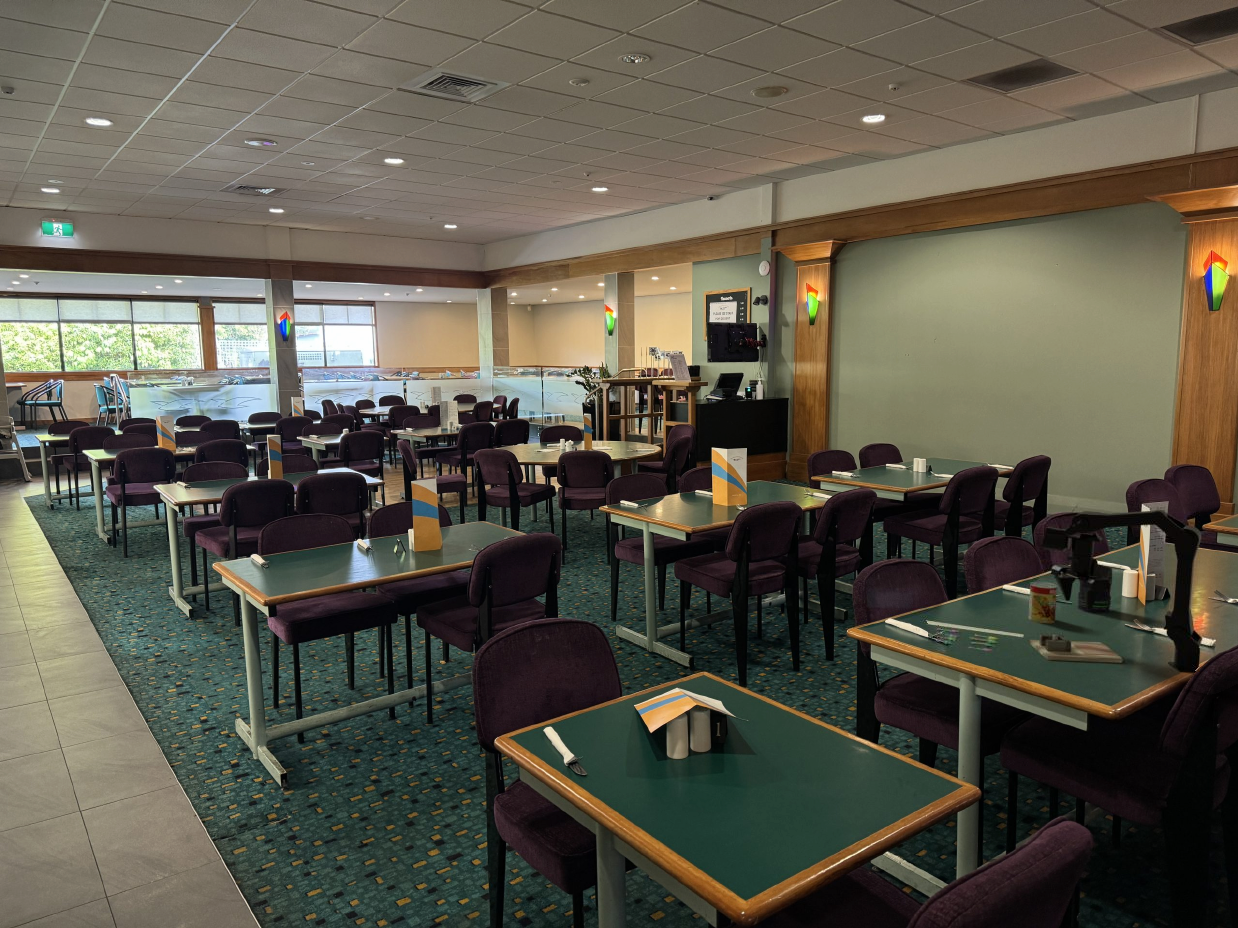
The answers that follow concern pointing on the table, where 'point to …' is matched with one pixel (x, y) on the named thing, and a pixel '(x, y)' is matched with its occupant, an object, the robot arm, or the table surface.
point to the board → (1080, 652)
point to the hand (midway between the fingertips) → (1078, 604)
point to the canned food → (1042, 602)
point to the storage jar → (1101, 602)
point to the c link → (1055, 643)
